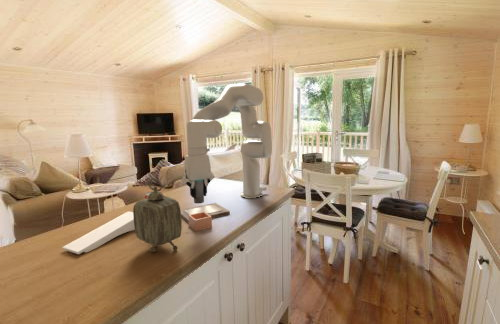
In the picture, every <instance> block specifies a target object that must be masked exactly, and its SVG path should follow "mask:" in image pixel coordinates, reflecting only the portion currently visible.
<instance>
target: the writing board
mask: <svg viewBox="0 0 500 324" xmlns="http://www.w3.org/2000/svg"><path fill="white" fill-rule="evenodd" d="M180 211H181V219H183V221H185V222H186V223H187V224H189V216H188V215H191V214H196V213H201V212H206V213H207V214H208V215H210V216H211V217H212V219H213V218H219V217H224V216H227V215H230V213H231V212H230V210H229V209H227V208H225V207H224V206H221V205H220V204H218V203H217V202H214V203H213V202H211V203H209V204H208V203H207V204H204V205H198V206H193V207H187V208H182V209H181V208H180Z"/></svg>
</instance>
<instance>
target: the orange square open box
mask: <svg viewBox="0 0 500 324" xmlns="http://www.w3.org/2000/svg"><path fill="white" fill-rule="evenodd" d="M188 216H189V223H188V226H189V227H190V228H191V229H192V230H193V231H195V232H198V231H202V230H206V229H210V228H212V227H213V218H212V217H211V216H210V215H208V214H207V213H206V212H201V213H196V214H191V215H188Z"/></svg>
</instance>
